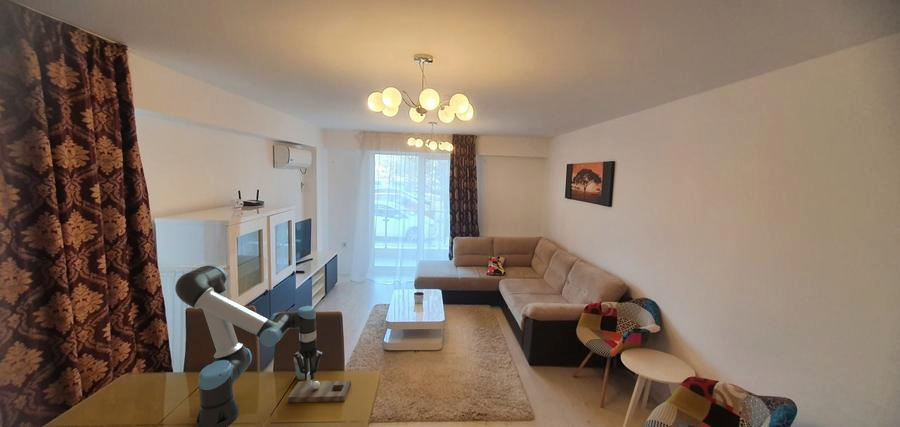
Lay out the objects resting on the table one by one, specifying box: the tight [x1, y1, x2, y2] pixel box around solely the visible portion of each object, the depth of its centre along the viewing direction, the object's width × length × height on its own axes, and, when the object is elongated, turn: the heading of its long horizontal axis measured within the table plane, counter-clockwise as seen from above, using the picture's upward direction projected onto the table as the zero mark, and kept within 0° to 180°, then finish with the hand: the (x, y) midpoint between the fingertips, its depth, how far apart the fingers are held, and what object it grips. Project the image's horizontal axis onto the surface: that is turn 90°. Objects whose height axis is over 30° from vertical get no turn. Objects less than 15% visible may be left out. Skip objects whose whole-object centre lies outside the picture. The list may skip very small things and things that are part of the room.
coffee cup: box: [293, 356, 310, 381], centre depth 171 cm, size 8×9×12 cm
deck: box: [287, 380, 352, 403], centre depth 158 cm, size 26×12×2 cm, turn 93°
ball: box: [312, 380, 320, 389], centre depth 158 cm, size 4×4×4 cm
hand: (309, 385), depth 157 cm, fingers closed
